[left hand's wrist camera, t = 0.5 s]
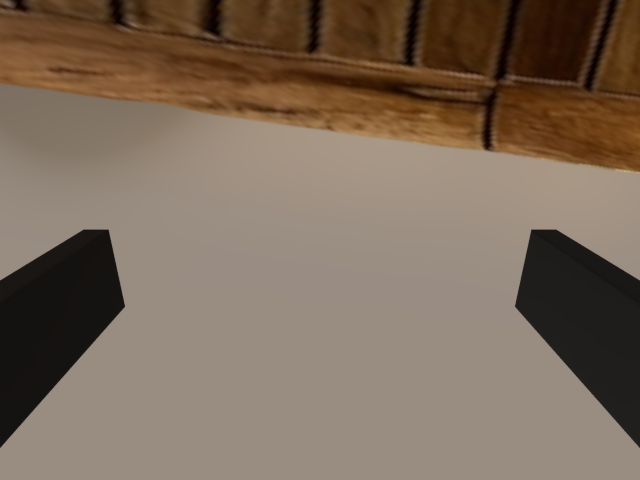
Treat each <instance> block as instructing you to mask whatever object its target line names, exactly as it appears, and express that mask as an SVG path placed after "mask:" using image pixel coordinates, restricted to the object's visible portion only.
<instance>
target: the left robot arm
mask: <svg viewBox="0 0 640 480" xmlns="http://www.w3.org/2000/svg"><path fill="white" fill-rule="evenodd" d="M124 307H125V304H124V300H123V295H122V290H121V286H120V281H119V276H118V272H117V267H116V262H115V258H114V253H113V248H112V244H111V239H110V234H109V230H82V231H81V232H79V233H77V234H76V235H74V236H73V237H71V238H69V239H68V240H66V241H64V242H63V243H61V244H59V245H58V246H56V247H55V248H53V249H51V250H50V251H48V252H46V253H45V254H43V255H41V256H40V257H38V258H36V259H35V260H33V261H32V262H30V263H28V264H27V265H25V266H23V267H22V268H20V269H18V270H17V271H15V272H13V273H12V274H10V275H8V276H7V277H5V278H4V279H2V280H0V447H1V446H2V445H3V444H4V443H5V442H6V441H7V440H8V438H9V437H10V436H11V435H12V434H13V433H14V432H15V431H16V429H17V428H18V427H19V426H20V425H21V424H22V423H23V421H24V420H25V419H26V418H27V417H28V416H29V415H30V413H31V412H32V411H33V410H34V409H35V408H36V407H37V406H38V404H39V403H40V402H41V401H42V400H43V399H44V398H45V397H46V395H47V394H48V393H49V392H50V391H51V390H52V389H53V388H54V386H55V385H56V384H57V383H58V382H59V381H60V380H61V378H62V377H63V376H64V375H65V374H66V373H67V372H68V371H69V369H70V368H71V367H72V366H73V365H74V364H75V363H76V361H77V360H78V359H79V358H80V357H81V356H82V355H83V353H84V352H85V351H86V350H87V349H88V348H89V347H90V346H91V344H92V343H93V342H94V341H95V340H96V339H97V338H98V337H99V335H100V334H101V333H102V332H103V331H104V330H105V329H106V328H107V326H108V325H109V324H110V323H111V322H112V321H113V320H114V318H115V317H116V316H117V315H118V314H119V313H120V312H121V311H122V309H123V308H124ZM515 307H516V308H517V309H518V311H519V312H520V313H521V314H522V315H523V316H524V317H525V318H526V320H527V321H528V322H529V323H530V324H531V325H532V326H533V328H534V329H535V330H536V331H537V332H538V333H539V334H540V335H541V337H542V338H543V339H544V340H545V341H546V342H547V343H548V345H549V346H550V347H551V348H552V349H553V350H554V351H555V352H556V354H557V355H558V356H559V357H560V358H561V359H562V360H563V361H564V363H565V364H566V365H567V366H568V367H569V368H570V369H571V370H572V372H573V373H574V374H575V375H576V376H577V377H578V378H579V380H580V381H581V382H582V383H583V384H584V385H585V386H586V388H587V389H588V390H589V391H590V392H591V393H592V394H593V395H594V397H595V398H596V399H597V400H598V401H599V402H600V403H601V404H602V406H603V407H604V408H605V409H606V410H607V411H608V412H609V413H610V415H611V416H612V417H613V418H614V419H615V420H616V421H617V423H618V424H619V425H620V426H621V427H622V428H623V429H624V431H625V432H626V433H627V434H628V435H629V436H630V437H631V438H632V440H633V441H634V442H635V443H636V444H637V445H638V446H639V448H640V280H638V279H636V278H635V277H633V276H631V275H630V274H628V273H627V272H625V271H623V270H622V269H620V268H618V267H617V266H615V265H613V264H612V263H610V262H608V261H607V260H605V259H604V258H602V257H600V256H599V255H597V254H595V253H594V252H592V251H590V250H589V249H587V248H586V247H584V246H582V245H581V244H579V243H577V242H576V241H574V240H572V239H571V238H569V237H567V236H566V235H564V234H562V233H561V232H559V231H557V230H531V234H530V239H529V244H528V248H527V253H526V258H525V262H524V267H523V272H522V276H521V281H520V286H519V290H518V295H517V300H516V304H515Z"/></svg>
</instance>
